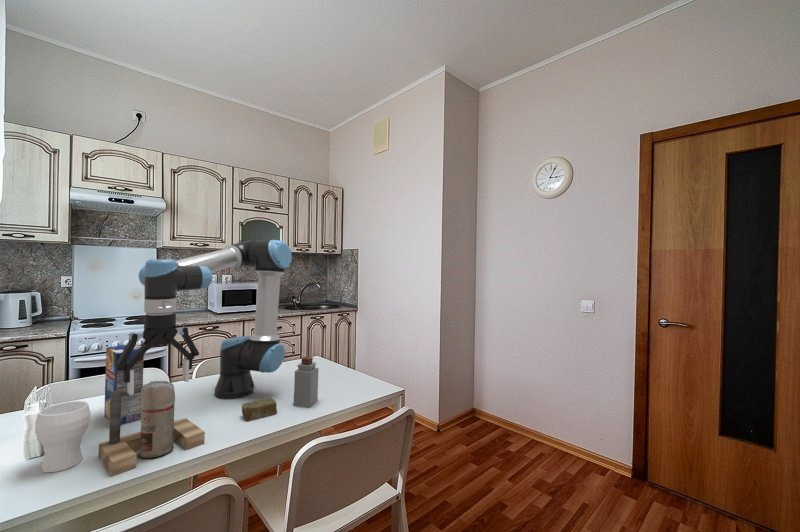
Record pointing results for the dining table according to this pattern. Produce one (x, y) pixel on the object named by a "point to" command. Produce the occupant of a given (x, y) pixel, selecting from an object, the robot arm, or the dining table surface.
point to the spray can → (157, 419)
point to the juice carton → (123, 385)
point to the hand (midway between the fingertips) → (159, 386)
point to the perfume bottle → (306, 383)
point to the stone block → (259, 409)
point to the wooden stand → (138, 438)
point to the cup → (62, 434)
